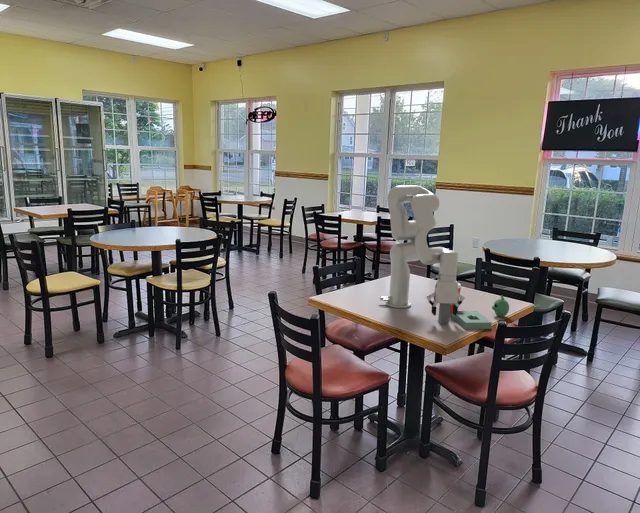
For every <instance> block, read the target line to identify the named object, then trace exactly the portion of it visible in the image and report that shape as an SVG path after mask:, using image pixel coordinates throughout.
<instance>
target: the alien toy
mask: <svg viewBox="0 0 640 513" xmlns="http://www.w3.org/2000/svg"><path fill="white" fill-rule="evenodd" d="M491 309H492V310H493V311H494V314H495V315H496V316H497V317H500V318H503V317H505V316H507V315H508V313H509V311H510V304H509V302H508V300H506V299H505V296H504V295H500V298H499V299H496V300H495V301H494V303H493V305H492V306H491Z"/></svg>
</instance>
